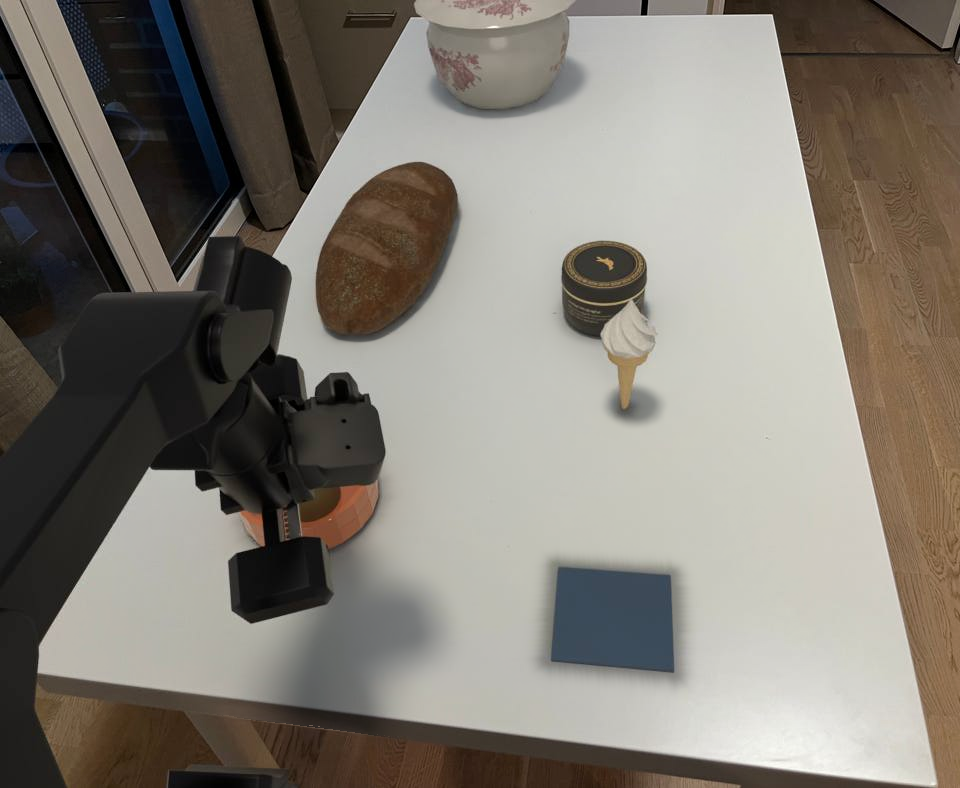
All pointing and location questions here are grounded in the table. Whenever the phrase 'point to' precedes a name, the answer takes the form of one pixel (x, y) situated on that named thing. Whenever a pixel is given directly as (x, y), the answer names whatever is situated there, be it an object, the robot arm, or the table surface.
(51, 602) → the robot arm
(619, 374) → the ice cream cone
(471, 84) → the chamber pot
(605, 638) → the mat
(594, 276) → the jar
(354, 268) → the bread
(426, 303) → the table surface
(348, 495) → the bowl
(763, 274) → the table surface
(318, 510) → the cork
